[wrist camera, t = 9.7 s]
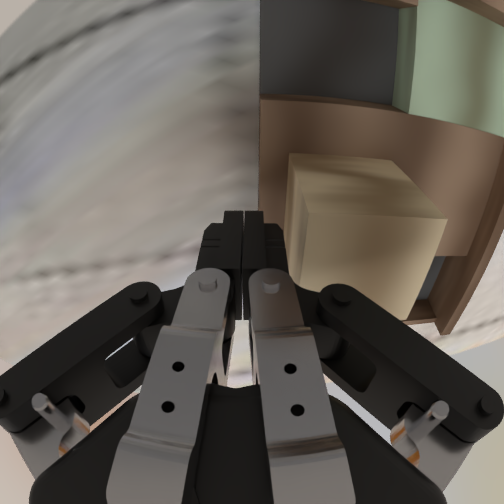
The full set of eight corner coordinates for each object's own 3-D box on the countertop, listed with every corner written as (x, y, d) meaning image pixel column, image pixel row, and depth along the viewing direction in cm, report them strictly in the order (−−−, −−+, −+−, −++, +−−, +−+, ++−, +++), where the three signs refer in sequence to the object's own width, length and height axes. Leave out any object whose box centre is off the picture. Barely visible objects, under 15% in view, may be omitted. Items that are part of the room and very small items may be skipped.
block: (282, 244, 18) (293, 325, 13) (289, 152, 15) (308, 213, 10) (372, 245, 18) (406, 319, 13) (391, 160, 15) (447, 219, 10)
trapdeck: (256, 308, 25) (257, 360, 21) (260, -41, 10) (264, -73, 6) (432, 300, 25) (453, 343, 21) (504, 24, 11) (555, 33, 7)
